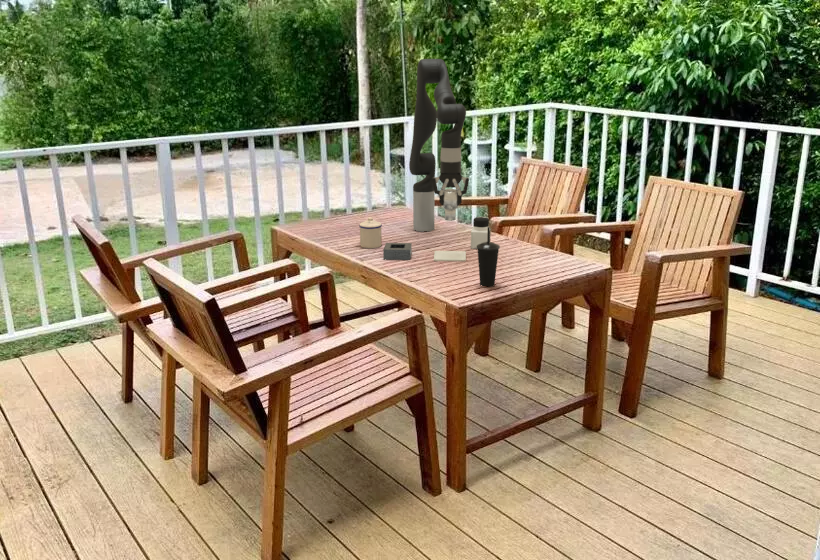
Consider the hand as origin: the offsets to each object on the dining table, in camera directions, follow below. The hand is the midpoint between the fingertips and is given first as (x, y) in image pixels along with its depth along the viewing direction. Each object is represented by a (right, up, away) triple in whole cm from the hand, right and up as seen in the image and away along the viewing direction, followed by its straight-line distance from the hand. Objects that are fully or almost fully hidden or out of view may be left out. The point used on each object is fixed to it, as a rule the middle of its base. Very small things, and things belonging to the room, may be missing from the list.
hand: (450, 204), depth 276 cm
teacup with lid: (-32, -14, +24) cm, 42 cm away
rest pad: (0, -19, +6) cm, 20 cm away
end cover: (0, -5, +2) cm, 6 cm away
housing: (-20, -19, +7) cm, 28 cm away
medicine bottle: (+13, -15, +20) cm, 28 cm away
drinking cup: (+11, -30, -27) cm, 42 cm away
